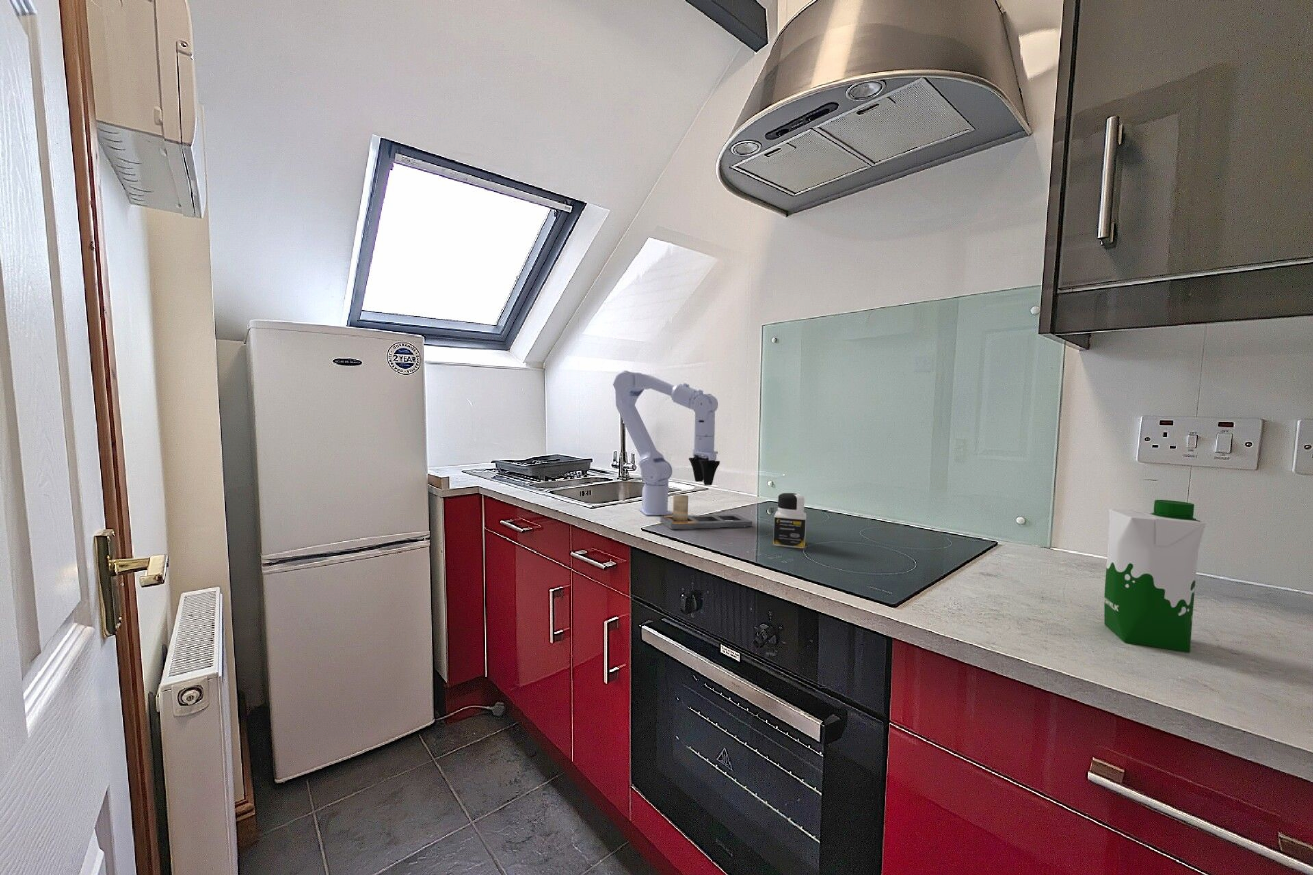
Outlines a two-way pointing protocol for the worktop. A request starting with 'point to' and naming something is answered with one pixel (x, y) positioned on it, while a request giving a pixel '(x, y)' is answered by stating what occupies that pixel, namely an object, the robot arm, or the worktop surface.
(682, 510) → the peg
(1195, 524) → the milk carton
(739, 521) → the gray compartment tray
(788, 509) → the medicine bottle
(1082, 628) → the worktop surface
